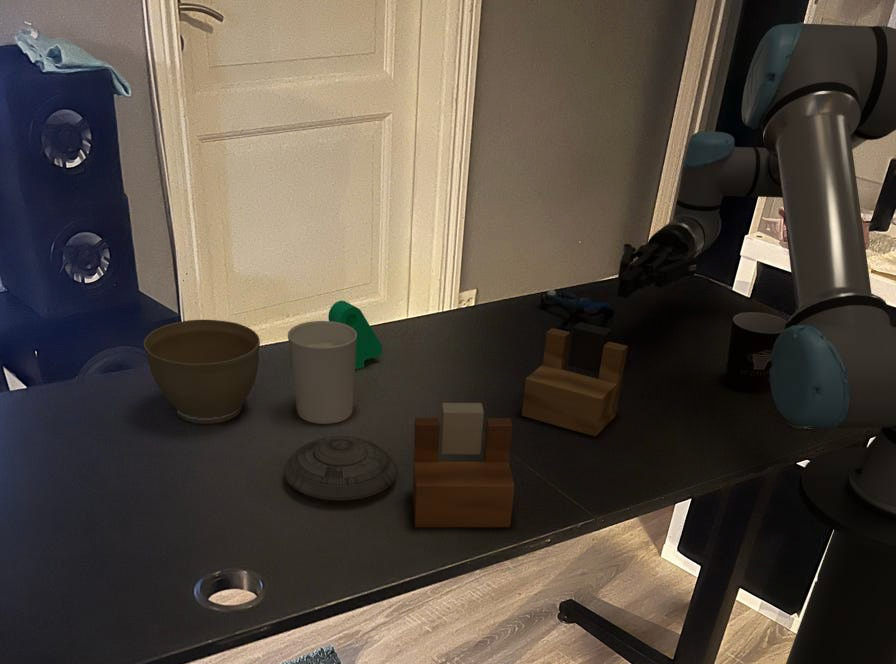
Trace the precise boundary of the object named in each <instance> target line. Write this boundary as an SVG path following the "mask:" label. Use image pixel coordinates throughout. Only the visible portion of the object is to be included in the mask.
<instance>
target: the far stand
mask: <svg viewBox="0 0 896 664" xmlns="http://www.w3.org/2000/svg"><path fill="white" fill-rule="evenodd" d="M570 336H571V331H565V330H563V329H559V328H553V327H551V328H550V329H549V330H547V331H546V334H545V343H544V350H543V359H542V364H541V365H540V366H539V367H538V368H536V370H534V371H533V372H532V373H531V374H529V375H528V376H527V377H525V381H524V388H523V399H522V408H521V409H522V410H521V417H524V418H528V419H531V420H535V421H538V422H542V423H546V424H550V425H553V426H557V427H560V428H564V429H566V430H570V431H575V432H577V433H581V434H585V435H588V436H591V437H597V436H598V435H599V434H600V433H601V432H602V431H603V430H604V428H605V427H607V426H608V424H609V423H611V421H612V420H614V418H615V417H616V416H617V410H618V404H619V399H620V394H621V387H622V381H623V376H624V371H625V365H626V359H627V353H628V347H629V346H628V345H624V344H620V343H615V342H612V341H610V342H608V343H606V344H605V345H604V346H603V352H602V359H601V365H600V372H599V373H598V377H597V378H596V377H592V376H589V375H585V374H581V373H576V372H573V371H569V370H566V367H567V360H568V352H569V344H570V338H571V337H570Z"/></svg>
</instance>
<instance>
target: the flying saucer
mask: <svg viewBox="0 0 896 664" xmlns="http://www.w3.org/2000/svg"><path fill="white" fill-rule="evenodd" d="M397 475H398V467H397V465H396V463H395V460H394V459H393V458H392V457H391V455H389V453H388V452H387V451H386V450H385V449H384V448H382V447H381V446H379V445H377V444H375V443H373V442H371V441H369V440H366V439H362V438H359V437H354V436H346V435H335V436H327V437H322V438H319V439H315V440H313V441H310V442H308V443H306V444H304V445H303V446H301V447H300V448H298V449H297V450H296V451H294V453H293V454H292V455H291V457H289V458H288V460H287V462H286V463H285V465H284V469H283V476H284V478H285V480H286V482H287V483H288V484H289V485H290V486H291V487H292V488H293V489H295V490H296V491H298V492H300V493H301V494H304V495H306V496H308V497H312V498H316V499H320V500H325V501H336V502H337V501H338V502H339V501H341V502H343V501H345V502H346V501H354V500H355V501H356V500H361V499H365V498H369V497H372V496H374V495H377V494H380V493H381V492H383V491H385V490H386V489H388V488H389V487H390V486H391V485H393V483H394V481H396V479H397V477H398V476H397Z"/></svg>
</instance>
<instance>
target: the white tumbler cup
mask: <svg viewBox="0 0 896 664" xmlns="http://www.w3.org/2000/svg"><path fill="white" fill-rule="evenodd" d="M287 339H288V346H289V356H290V363H291V373H292V382H293V391H294V399H295V408H296V412H297V415H298V417H300V418H301V419H302V420H304V421H306V422H309V423H312V424H318V425H330V424H336V423H341V422H343V421H346V420H348V419H349V418H350V417H351V416H352V414H353V410H354V400H355V399H354V397H355V396H354V395H355V379H356V377H355V376H356V369H355V359H356V340H357V333H356V331H355V330H354V329H353V328H352V327H350V326H348V325H346V324H343V323H339V322H333V321H329V320H313V321H305V322H302V323H298V324H296V325H294V326H293V327H292V328H290V329H289V330H288V332H287Z"/></svg>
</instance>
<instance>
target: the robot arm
mask: <svg viewBox="0 0 896 664" xmlns="http://www.w3.org/2000/svg"><path fill="white" fill-rule="evenodd" d="M744 84H745V85H744V89H743V95H742V100H741V101H742V103H741V119H742V122H743V124H744V125H745V127H748V128H751V129H752V130H756V129H757V128H760V129H761V132H762V141H763V146H764V147H750V146H749V147H747V146H736V145H735V138H734V136H733V135H731V134H730V133H727V132H722V131H714V130H702V131H701V130H700V131H697V132H695V133H693V134H692V135H691V136H690V137H689V139H688V143H687V145H686V150H685V154H684V158H683V160H682V169H681V173H680V180H679V186H678V192H677V198H676V202H675V206H674V211H673V215H672V220H671V221H670V222H668V223H667V224H665V225H664V226H663V227H661V228H660V229H659V230H657V231H656V232H655V233H653V234H652V236H651V237H649V239H648V241H647V242H646V243H645V244H642V245H640V246H639V247H638V248H636V246H632V245H631V244H630V243H624V244H623V249H622V255H621V259H620V261H619V262H620V263H619V269H618V275H617V278H618V279H619V285H618V290H617V297H618V298H619V297H620V298H624V299H627V298H629V297H630V296H631V295H632V294H634V293H635V292H636V291H637V290H639V289H640V290H642V289H644V288H646V287H648V286H651V285H652V284H654V287H657V288H661V287H664V286H666V285H669V284H671V283H673V282H676V281H679V280H680V279H683V278H685V277H691V276H695V275H696V271H697V266H698V262H699V261H698V260H699V258H697V257H698V256H700V255H701V254H702V253H703V252H705V251H706V250H708V249H710V248H711V246H712V245H713V244H714V242H715V241H716V240H717V239H718V237H719V235H720V232H721V230H722V218H721V215H720V208H721V206H722V201H723V198H724V197H746V198H747V197H749V198H750V197H753V198H781V199H782V205H783V212H784V213H783V214H784V223H785V230H786V240H787V248H788V256H789V265H790V276H791V283H792V292H793V300H794V301H793V302H794V310H795V312H794V313H793V314H792V315H791V316H790V317H789V318H788V319H787V320H786V321H787V323H786V325H785V330H784V331H783V332H782V333H781V334H780V335H779V336H778V338H777V339H776V341H775V344H774V346H773V349H772V353H771V359H770V360H771V362H772V367H771V368H770V371H769V375H770V377H769V386H770V392H771V395H772V399H773V402H774V404H775V406H776V408H777V410H778V412H779V413H780V415H781V416H782V417H783V418H784V419H785V420H787V421H788V422H790V423H791V424H793V425H795V426H799V427H812V428H818V429H821V430H830V429H835V428H836V429H837V428H838V429H844V428H845V429H847V428H850V429H851V428H852V429H853V428H854V429H855V428H856V429H867V428H868V429H874V428H875V429H878V428H879V429H880V430H879V431H878V433H877V434H876V436H874V438H873V439H872V441H871V442H870V443H869V444H868V446H866V447H867V448H866V449H865V451H864V452H863V453H862V454H861V456H860V457H859V458H858V459H857V460H856V462H855V463H854V464H853V465H852V467H851V469H850V472H849V475H848V478H847V480H846V488H847V491H848V493H849V494H850V496H851V497H852V498H853V499H854V500H855V501H856V502H857V503H859V504H860V505H861V506H863V507H864V508H866V509H867V510H869V511H871V512H873V513H875V514H877V515H879V516H882V517H884V518H887V519H890V520H893V521H896V327H895V326H893V325H892V324H891V320H890V314H889V306H888V304H887V302H886V300H885V299H883V298H882V297H880V296H879V295H876V294H874V293H872V287H871V279H870V271H869V264H868V257H867V248H866V241H865V235H864V226H863V219H862V212H861V204H860V198H859V189H858V183H857V176H856V175H857V174H856V166H855V160H854V153H853V151H854V149H856V148H857V147H859V146H860V145H862V144H863V143H865V142H866V141H875V140H876V141H877V140H880V139H883V138H885V137H887V136H888V135H890V134H892V133H893V132H895V131H896V28H894V27H891V26H887V25H886V26H885V25H871V26H868V25H849V24H847V25H846V24H825V23H824V24H823V23H804V22H803V21H800V22H798V23H785V24H778V25H775V26H772V27H771V28H770V29H768V31H767V32H766V33H765V34H764V36H763V37H762V38H761V40H760V42H759V44H758V45H757V47H756V50H755V53H754V54H753V57H752V61H751V63H750V66H749V69H748V73H747V77H746V79H745V83H744ZM636 258H637V259H636ZM634 259H635V260H634Z"/></svg>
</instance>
